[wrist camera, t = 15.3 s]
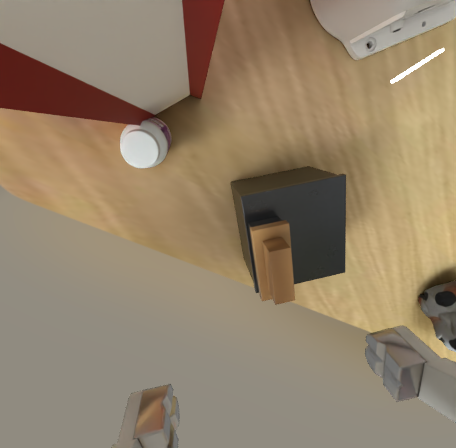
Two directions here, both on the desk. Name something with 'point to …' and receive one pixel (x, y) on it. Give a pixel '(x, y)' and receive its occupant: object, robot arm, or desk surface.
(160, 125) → the pill bottle
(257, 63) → the desk surface
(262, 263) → the brush
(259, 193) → the cabinet
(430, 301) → the lucky cat figurine
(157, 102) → the book
